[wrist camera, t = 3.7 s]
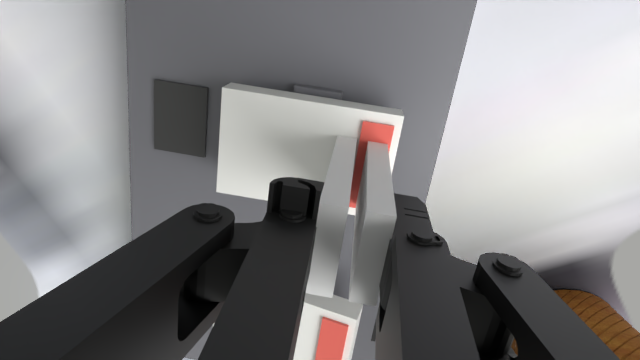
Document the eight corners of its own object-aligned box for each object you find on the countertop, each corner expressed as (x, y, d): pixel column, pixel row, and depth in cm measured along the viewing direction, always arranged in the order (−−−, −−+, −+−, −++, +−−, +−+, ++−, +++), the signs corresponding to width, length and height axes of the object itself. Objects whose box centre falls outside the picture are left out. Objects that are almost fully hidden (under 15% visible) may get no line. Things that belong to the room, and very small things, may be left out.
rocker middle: (230, 82, 18) (220, 88, 16) (401, 109, 18) (404, 117, 16) (224, 181, 19) (215, 193, 18) (380, 207, 19) (381, 221, 18)
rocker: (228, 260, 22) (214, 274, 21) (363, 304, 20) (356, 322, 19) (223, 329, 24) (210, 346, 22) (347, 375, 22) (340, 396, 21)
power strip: (161, -247, 18) (107, -312, 14) (511, -205, 17) (548, -262, 13) (160, 311, 28) (129, 355, 25) (375, 354, 27) (375, 405, 24)
